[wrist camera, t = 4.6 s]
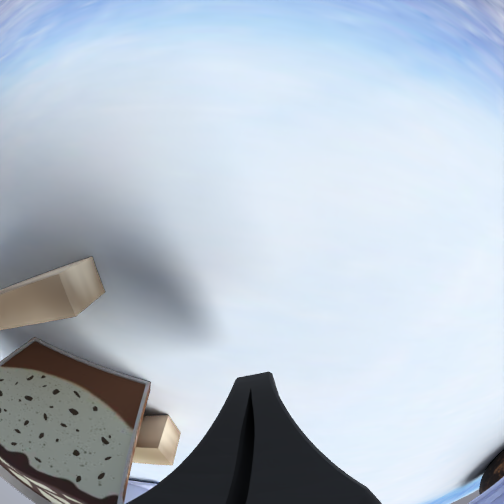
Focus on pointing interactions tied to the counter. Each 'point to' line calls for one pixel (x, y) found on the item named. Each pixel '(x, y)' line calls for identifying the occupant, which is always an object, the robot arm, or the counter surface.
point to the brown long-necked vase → (492, 473)
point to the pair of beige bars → (70, 305)
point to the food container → (67, 426)
